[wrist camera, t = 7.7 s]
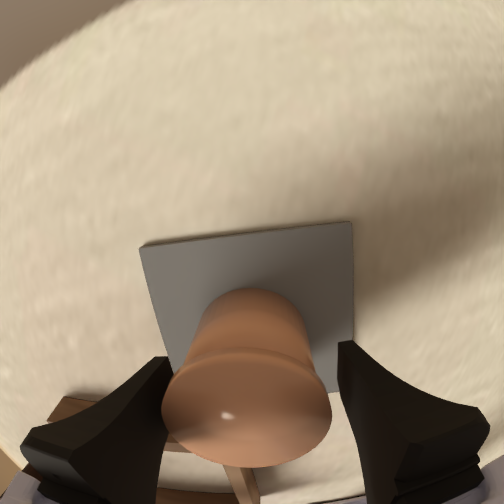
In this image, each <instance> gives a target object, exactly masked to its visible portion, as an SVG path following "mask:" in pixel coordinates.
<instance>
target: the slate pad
mask: <svg viewBox="0 0 504 504" xmlns="http://www.w3.org/2000/svg"><path fill="white" fill-rule="evenodd" d="M139 253H140V257H141V261H142V266H143V270H144V274H145V278H146V282H147V286H148V289H149V293H150V297H151V301H152V304H153V308H154V311H155V315H156V318H157V322H158V325H159V328H160V332H161V335H162V338H163V341H164V344H165V348H166V351H167V354H168V357H169V360H170V363H171V366H172V369H173V371H174V374H175V372H176V371H177V370H178V369H179V368H180V367H181V366H182V365H183V364H184V361H185V359H186V356H187V353H188V351H189V348H190V345H191V342H192V340H193V337H194V334H195V332H196V329H197V326H198V324H199V321H200V319H201V316H202V314H203V312H204V311H205V309H206V308H207V307H208V305H209V304H210V303H211V302H213V301H214V300H215V299H216V298H218V297H219V296H221V295H223V294H225V293H227V292H230V291H233V290H237V289H242V288H259V289H265V290H269V291H272V292H275V293H277V294H279V295H281V296H283V297H285V298H286V299H287V300H289V301H290V302H291V303H292V304H293V305H294V306H295V307H296V308H297V309H298V311H299V312H300V314H301V316H302V318H303V320H304V323H305V327H306V332H307V336H308V340H309V344H310V349H311V353H312V358H313V362H314V366H315V371H316V374H317V375H318V376H319V377H320V378H321V380H322V381H323V383H324V385H325V387H326V390H327V393H333V392H339V387H338V382H337V359H338V342H342V341H348V340H352V336H353V239H352V223H351V222H350V221H348V222H339V223H329V224H320V225H311V226H302V227H293V228H284V229H275V230H267V231H258V232H250V233H241V234H233V235H225V236H217V237H209V238H201V239H193V240H186V241H178V242H170V243H163V244H155V245H148V246H141V247H140V248H139Z"/></svg>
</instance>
